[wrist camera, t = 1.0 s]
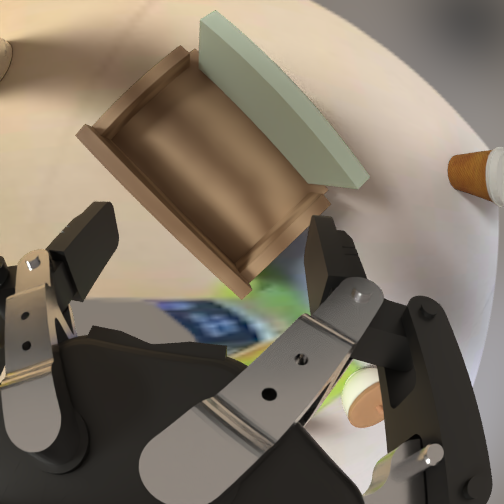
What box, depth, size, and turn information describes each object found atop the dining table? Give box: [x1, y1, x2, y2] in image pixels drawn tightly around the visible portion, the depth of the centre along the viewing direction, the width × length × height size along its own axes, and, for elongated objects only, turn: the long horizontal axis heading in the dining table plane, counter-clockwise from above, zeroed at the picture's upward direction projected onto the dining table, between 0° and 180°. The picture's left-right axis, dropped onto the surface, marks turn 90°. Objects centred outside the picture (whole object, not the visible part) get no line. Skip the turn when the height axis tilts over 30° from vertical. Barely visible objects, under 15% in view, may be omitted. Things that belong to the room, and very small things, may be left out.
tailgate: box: [199, 10, 370, 189], centre depth 26 cm, size 2×19×12 cm, turn 43°
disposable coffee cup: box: [448, 147, 504, 207], centre depth 36 cm, size 10×10×12 cm
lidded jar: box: [341, 368, 384, 428], centre depth 44 cm, size 11×11×9 cm
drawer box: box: [75, 45, 331, 299], centre depth 31 cm, size 16×26×9 cm, turn 43°
